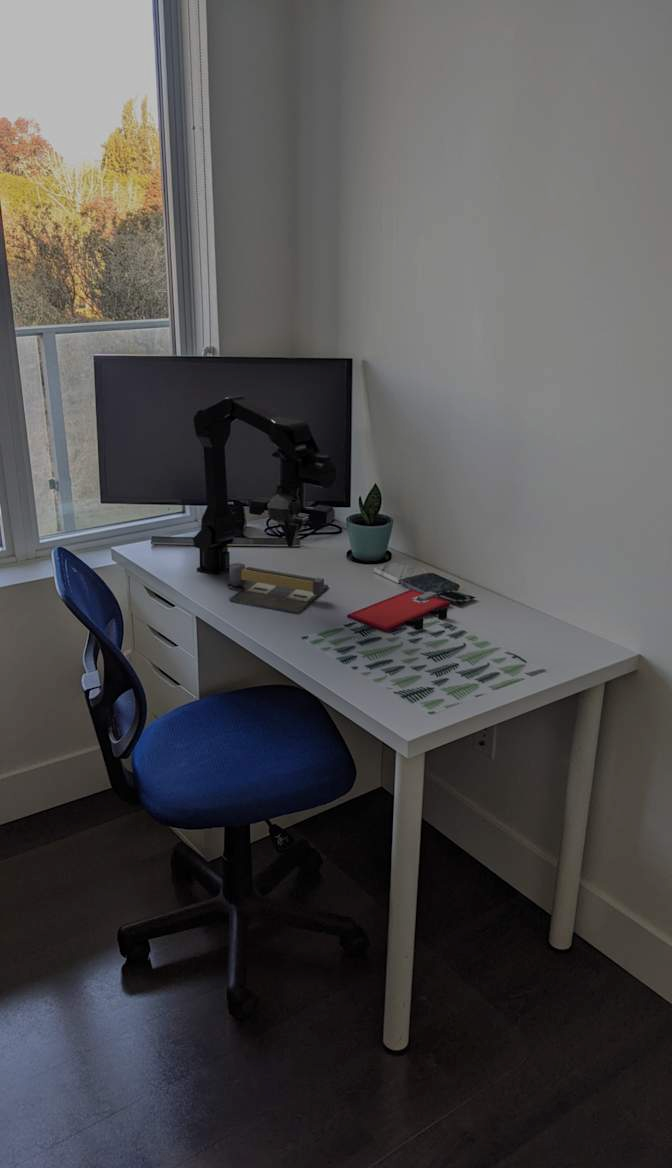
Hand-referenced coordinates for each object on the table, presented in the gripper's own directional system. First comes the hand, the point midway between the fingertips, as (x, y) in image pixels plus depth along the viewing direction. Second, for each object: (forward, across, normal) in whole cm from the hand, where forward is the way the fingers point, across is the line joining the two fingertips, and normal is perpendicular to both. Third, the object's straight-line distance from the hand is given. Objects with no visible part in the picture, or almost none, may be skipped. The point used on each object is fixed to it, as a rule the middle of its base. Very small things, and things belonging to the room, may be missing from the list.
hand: (290, 546), depth 206 cm
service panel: (+12, -5, 0) cm, 13 cm away
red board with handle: (+13, +29, +5) cm, 32 cm away
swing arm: (+11, -4, 0) cm, 12 cm away
